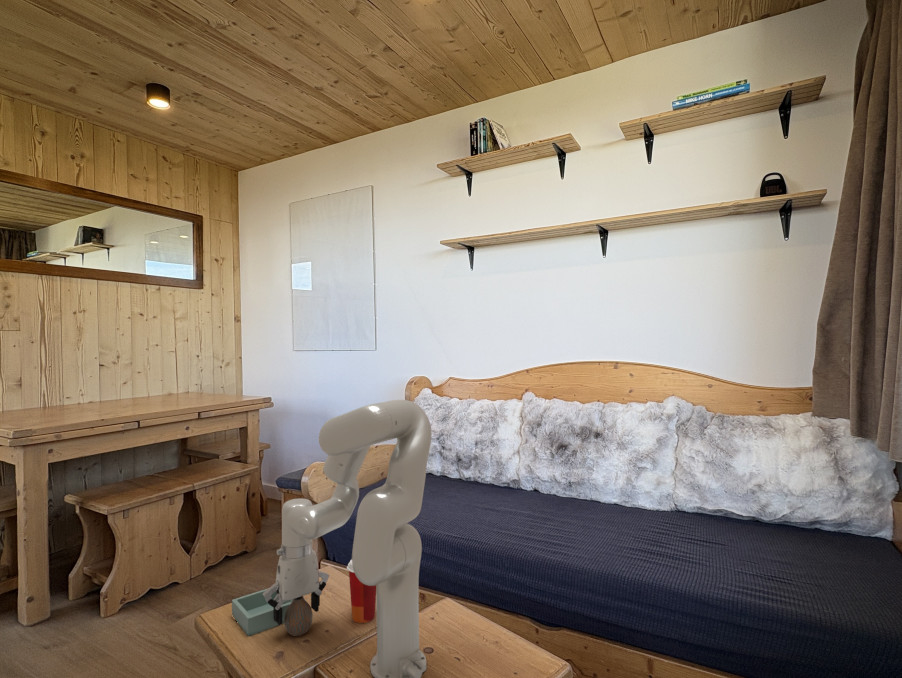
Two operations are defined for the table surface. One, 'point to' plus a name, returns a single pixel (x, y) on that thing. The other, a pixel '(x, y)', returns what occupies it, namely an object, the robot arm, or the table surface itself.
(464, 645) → the table surface
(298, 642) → the table surface
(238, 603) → the bin
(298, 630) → the vase
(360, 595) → the coffee cup
